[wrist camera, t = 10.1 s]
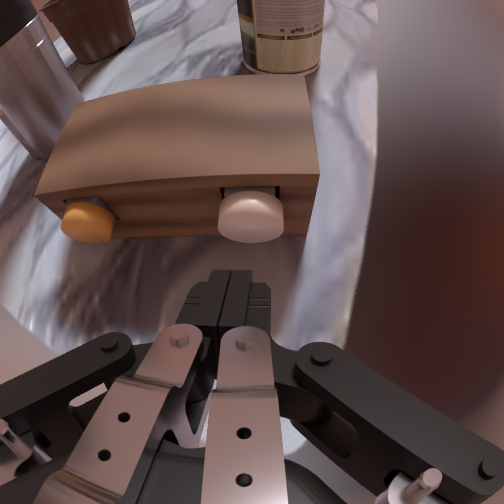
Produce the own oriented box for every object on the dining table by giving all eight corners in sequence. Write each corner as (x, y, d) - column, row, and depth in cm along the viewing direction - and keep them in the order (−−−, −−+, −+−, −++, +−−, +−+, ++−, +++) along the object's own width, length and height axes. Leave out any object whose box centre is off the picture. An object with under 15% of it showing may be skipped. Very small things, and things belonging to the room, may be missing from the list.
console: (306, 235, 23) (320, 174, 16) (84, 238, 25) (33, 195, 17) (299, 141, 27) (304, 74, 20) (109, 155, 28) (77, 104, 21)
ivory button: (282, 242, 20) (284, 213, 16) (223, 243, 20) (212, 214, 16) (280, 165, 22) (281, 129, 19) (228, 166, 23) (221, 131, 19)
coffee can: (226, 64, 33) (211, -28, 20) (274, 37, 36) (270, -42, 23) (291, 89, 30) (292, -20, 17) (334, 59, 33) (343, -30, 20)
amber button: (119, 244, 21) (92, 219, 17) (79, 245, 21) (50, 222, 17) (136, 173, 23) (117, 143, 19) (98, 178, 23) (76, 151, 20)
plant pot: (61, 84, 37) (25, 19, 23) (78, 48, 44) (53, -6, 29) (144, 48, 38) (118, -29, 23) (146, 20, 44) (128, -40, 29)
